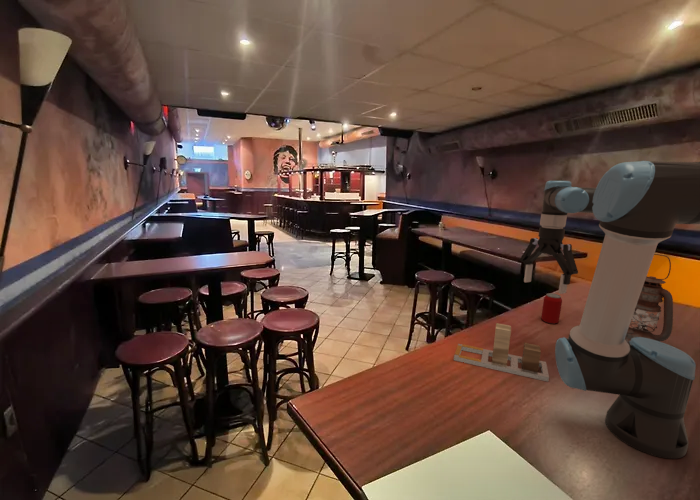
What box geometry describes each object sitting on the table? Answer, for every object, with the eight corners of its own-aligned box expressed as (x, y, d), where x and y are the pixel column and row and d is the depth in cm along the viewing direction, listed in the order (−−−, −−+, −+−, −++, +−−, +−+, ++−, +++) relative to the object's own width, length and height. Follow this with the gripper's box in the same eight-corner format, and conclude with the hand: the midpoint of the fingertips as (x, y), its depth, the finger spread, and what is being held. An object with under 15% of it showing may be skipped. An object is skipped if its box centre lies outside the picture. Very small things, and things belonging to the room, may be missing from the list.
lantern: (619, 331, 140) (635, 248, 133) (671, 348, 127) (692, 256, 120) (607, 338, 134) (624, 251, 127) (661, 356, 121) (683, 260, 114)
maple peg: (506, 368, 112) (510, 331, 109) (491, 364, 113) (495, 328, 111) (506, 361, 116) (510, 325, 113) (492, 358, 117) (496, 323, 115)
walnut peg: (537, 375, 108) (540, 351, 106) (521, 371, 110) (524, 348, 108) (536, 368, 112) (539, 345, 110) (521, 364, 114) (524, 342, 112)
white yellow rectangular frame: (548, 381, 104) (549, 376, 104) (453, 360, 116) (454, 355, 115) (545, 366, 113) (546, 361, 113) (457, 347, 125) (458, 343, 124)
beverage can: (558, 320, 150) (562, 294, 148) (558, 325, 145) (562, 299, 142) (541, 317, 154) (545, 291, 152) (540, 322, 148) (544, 295, 146)
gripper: (597, 231, 106) (586, 297, 110) (528, 222, 128) (521, 276, 133) (581, 232, 103) (571, 299, 107) (513, 222, 126) (507, 278, 130)
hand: (543, 287), depth 120 cm, fingers open, 13 cm apart
